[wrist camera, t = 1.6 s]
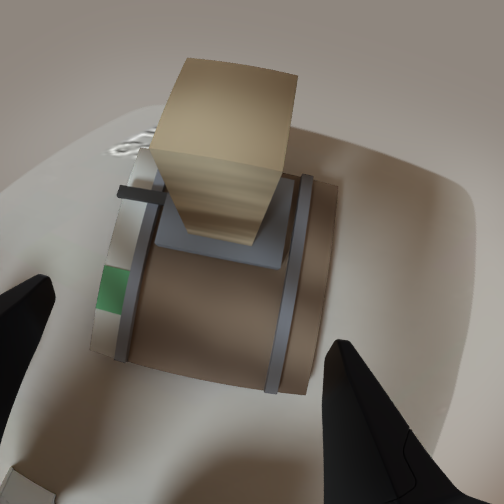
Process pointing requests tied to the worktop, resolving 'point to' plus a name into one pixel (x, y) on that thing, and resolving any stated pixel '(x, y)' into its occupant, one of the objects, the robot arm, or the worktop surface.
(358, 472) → the robot arm
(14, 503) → the skyscraper
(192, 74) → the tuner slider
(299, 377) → the board
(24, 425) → the worktop surface
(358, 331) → the worktop surface
